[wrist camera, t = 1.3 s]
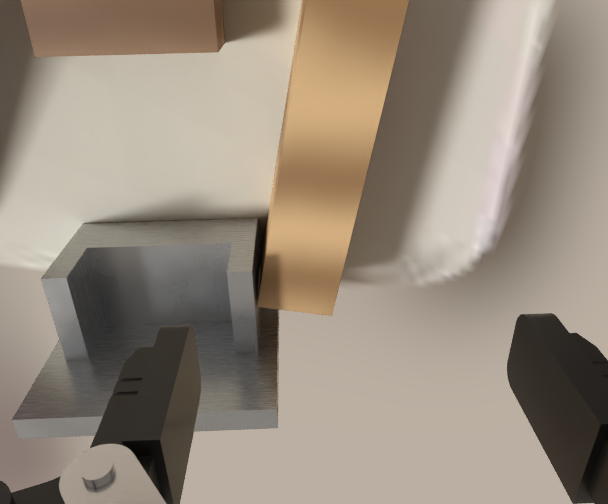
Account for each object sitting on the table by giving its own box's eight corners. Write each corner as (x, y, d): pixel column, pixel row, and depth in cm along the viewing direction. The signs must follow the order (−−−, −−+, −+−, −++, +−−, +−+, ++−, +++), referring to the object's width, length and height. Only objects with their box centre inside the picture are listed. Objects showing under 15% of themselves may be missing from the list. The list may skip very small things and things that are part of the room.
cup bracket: (65, 224, 30) (-24, 331, 21) (274, 217, 30) (271, 320, 22) (88, 312, 33) (19, 438, 24) (279, 306, 33) (277, 428, 25)
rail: (306, -35, 25) (312, -34, 20) (389, -18, 25) (412, -14, 21) (260, 259, 32) (257, 306, 28) (325, 268, 33) (331, 315, 28)
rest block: (38, -48, 24) (8, -49, 21) (216, -52, 24) (208, -53, 21) (60, 47, 26) (34, 57, 23) (224, 42, 26) (218, 52, 23)
